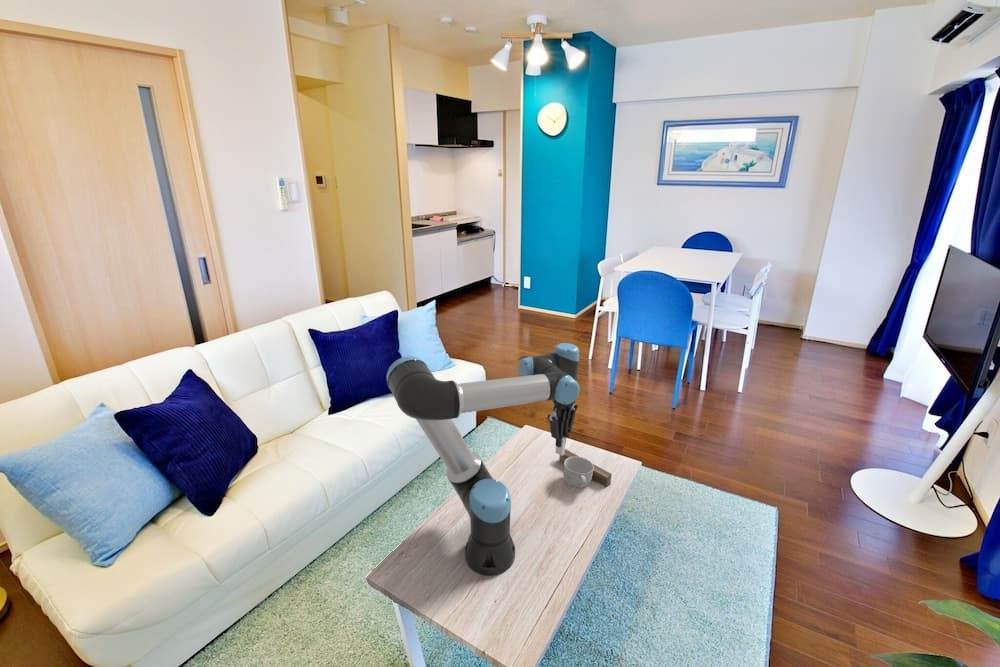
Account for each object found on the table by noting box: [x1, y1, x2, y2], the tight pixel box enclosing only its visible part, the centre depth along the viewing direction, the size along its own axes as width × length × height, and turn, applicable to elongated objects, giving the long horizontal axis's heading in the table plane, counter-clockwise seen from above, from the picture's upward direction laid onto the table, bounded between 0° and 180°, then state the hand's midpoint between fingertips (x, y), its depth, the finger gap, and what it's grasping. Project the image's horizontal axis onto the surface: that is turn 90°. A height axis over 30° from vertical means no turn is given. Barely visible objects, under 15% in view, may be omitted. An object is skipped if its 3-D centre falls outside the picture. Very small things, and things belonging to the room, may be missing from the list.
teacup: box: [563, 455, 595, 489], centre depth 171 cm, size 14×11×8 cm
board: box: [558, 448, 612, 489], centre depth 178 cm, size 3×22×4 cm, turn 44°
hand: (560, 453), depth 158 cm, fingers closed
